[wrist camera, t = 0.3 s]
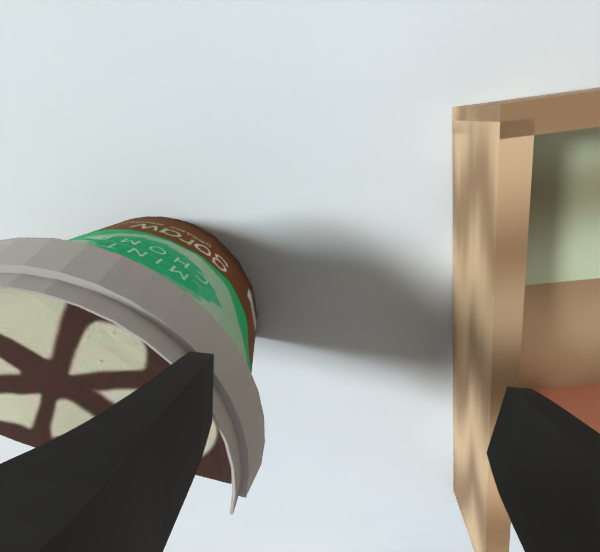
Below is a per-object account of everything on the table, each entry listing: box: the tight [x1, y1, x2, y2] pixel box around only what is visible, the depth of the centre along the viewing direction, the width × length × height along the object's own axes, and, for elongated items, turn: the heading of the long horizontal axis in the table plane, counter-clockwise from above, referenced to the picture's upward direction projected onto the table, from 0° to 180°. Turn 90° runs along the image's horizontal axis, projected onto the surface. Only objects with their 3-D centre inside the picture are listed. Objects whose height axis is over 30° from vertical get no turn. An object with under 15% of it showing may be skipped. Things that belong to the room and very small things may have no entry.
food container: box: [0, 217, 265, 514], centre depth 15 cm, size 12×6×10 cm, turn 76°
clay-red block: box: [533, 384, 600, 433], centre depth 17 cm, size 4×4×4 cm
